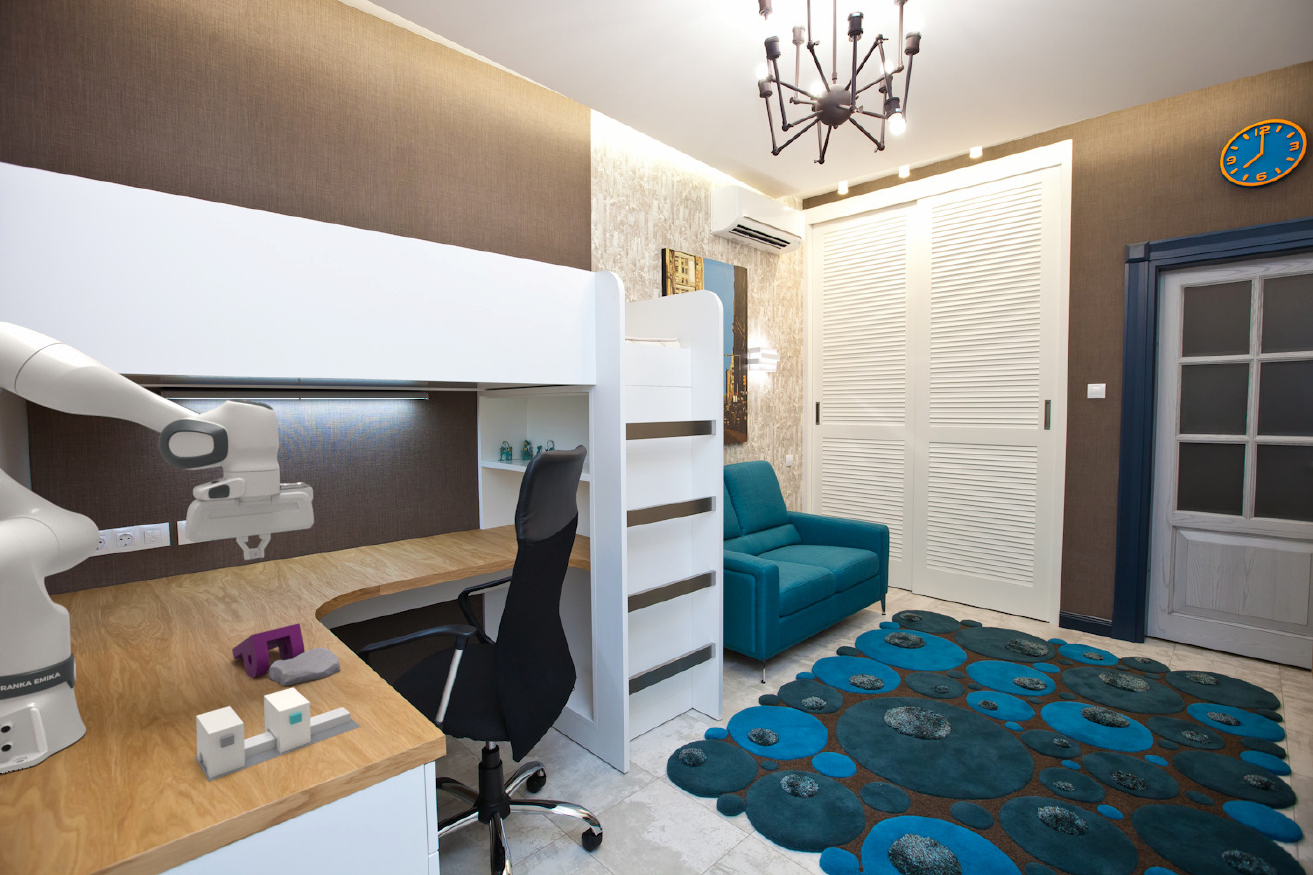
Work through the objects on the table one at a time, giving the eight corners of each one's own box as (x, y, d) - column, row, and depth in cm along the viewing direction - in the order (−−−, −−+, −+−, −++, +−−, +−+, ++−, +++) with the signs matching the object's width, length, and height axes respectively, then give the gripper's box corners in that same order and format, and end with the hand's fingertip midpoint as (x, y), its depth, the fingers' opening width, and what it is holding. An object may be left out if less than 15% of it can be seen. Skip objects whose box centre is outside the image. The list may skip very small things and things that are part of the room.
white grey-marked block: (210, 779, 91) (209, 735, 91) (197, 757, 98) (196, 715, 97) (245, 767, 95) (244, 724, 94) (230, 746, 101) (229, 705, 101)
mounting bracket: (233, 689, 138) (259, 674, 127) (226, 653, 140) (251, 634, 130) (279, 676, 145) (307, 660, 135) (272, 641, 147) (299, 623, 137)
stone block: (344, 679, 134) (323, 659, 140) (345, 659, 133) (324, 640, 139) (286, 700, 125) (266, 679, 130) (286, 679, 124) (266, 658, 129)
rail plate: (209, 787, 91) (208, 771, 91) (194, 762, 98) (194, 747, 98) (360, 731, 107) (360, 717, 107) (339, 713, 114) (338, 700, 114)
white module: (281, 754, 98) (280, 712, 98) (264, 734, 104) (263, 695, 104) (311, 743, 102) (311, 703, 101) (294, 724, 108) (293, 687, 108)
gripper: (307, 480, 124) (308, 547, 124) (182, 489, 109) (184, 565, 109) (318, 482, 120) (319, 551, 120) (189, 491, 105) (191, 571, 105)
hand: (254, 558), depth 115 cm, fingers closed
